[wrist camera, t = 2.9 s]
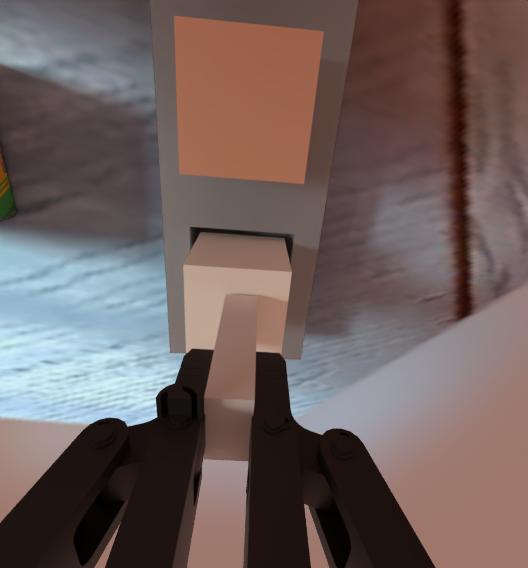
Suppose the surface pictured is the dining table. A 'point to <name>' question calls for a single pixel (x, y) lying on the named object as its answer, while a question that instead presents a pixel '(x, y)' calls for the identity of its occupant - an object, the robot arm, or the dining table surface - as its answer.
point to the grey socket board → (241, 192)
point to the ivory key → (236, 286)
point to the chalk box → (5, 193)
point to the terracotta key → (245, 98)
